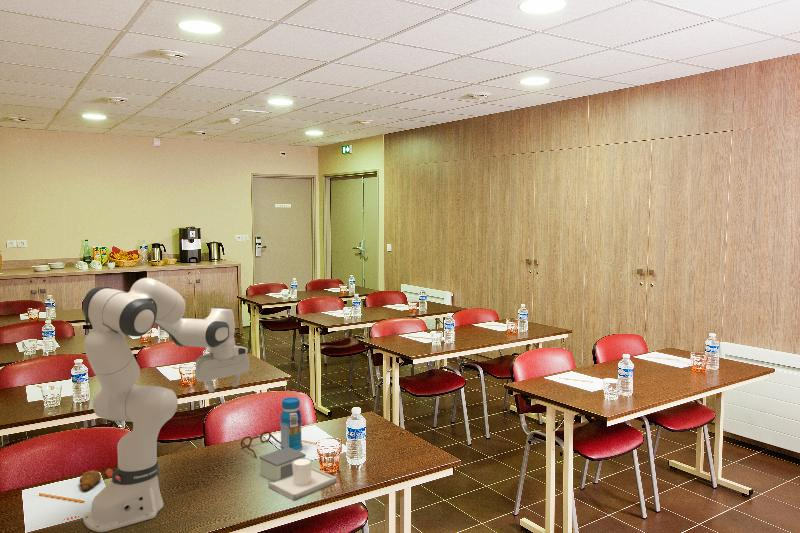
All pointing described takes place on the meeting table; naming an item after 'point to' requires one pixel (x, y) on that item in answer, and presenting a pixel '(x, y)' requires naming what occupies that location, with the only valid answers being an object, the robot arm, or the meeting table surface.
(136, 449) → the robot arm
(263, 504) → the meeting table surface
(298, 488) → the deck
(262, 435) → the glasses
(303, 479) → the white cup
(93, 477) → the croissant
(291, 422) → the beverage bottle
